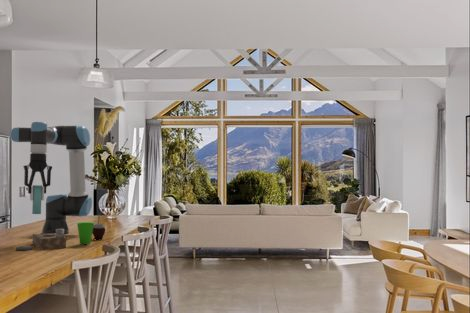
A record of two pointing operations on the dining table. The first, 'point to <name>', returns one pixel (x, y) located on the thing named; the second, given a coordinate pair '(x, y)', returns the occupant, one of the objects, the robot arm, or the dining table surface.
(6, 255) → the dining table surface
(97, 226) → the mate gourd
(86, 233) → the cup
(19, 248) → the coaster
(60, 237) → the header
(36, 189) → the teal tall cylinder
